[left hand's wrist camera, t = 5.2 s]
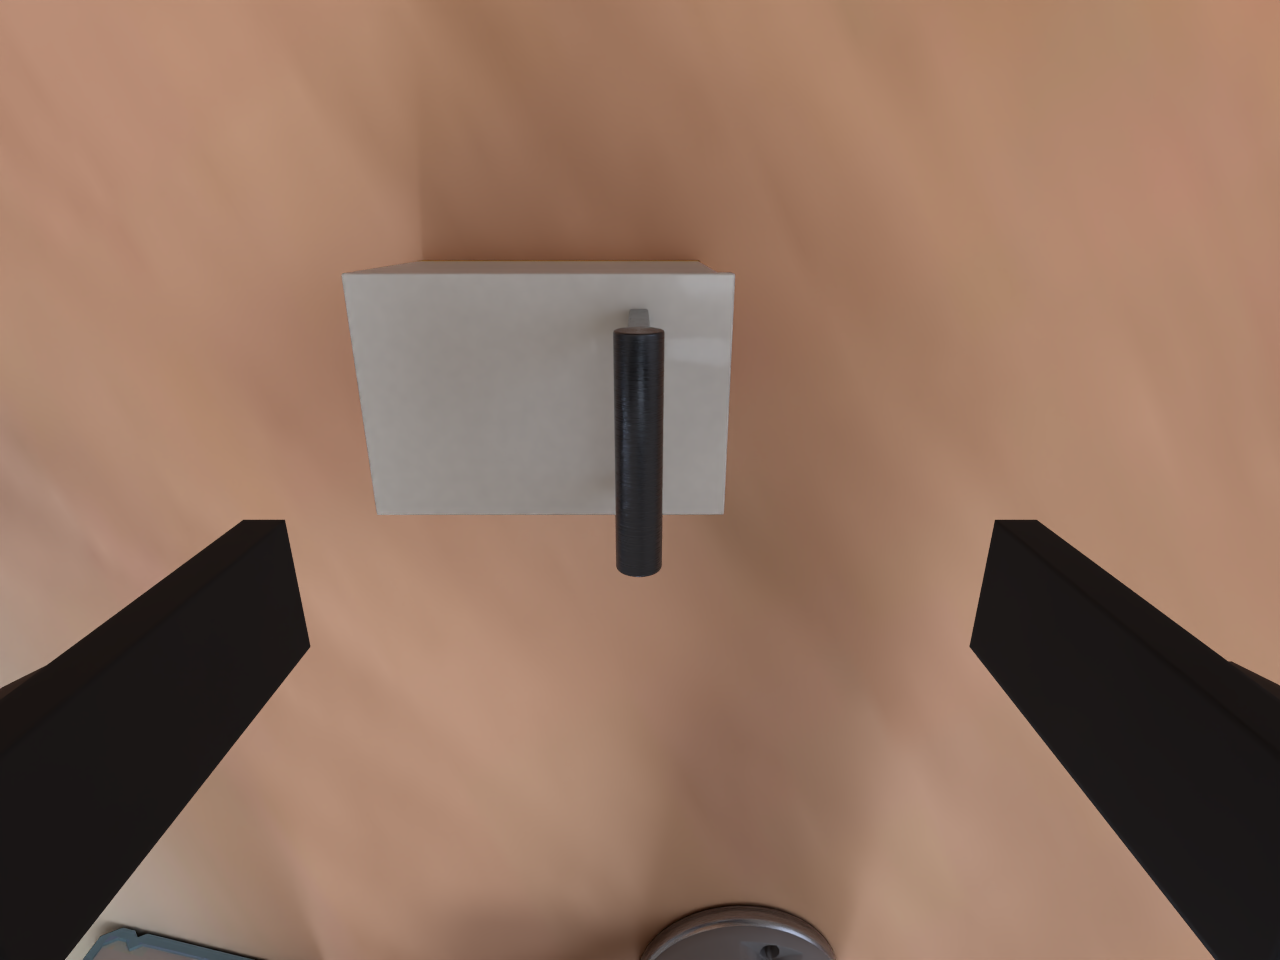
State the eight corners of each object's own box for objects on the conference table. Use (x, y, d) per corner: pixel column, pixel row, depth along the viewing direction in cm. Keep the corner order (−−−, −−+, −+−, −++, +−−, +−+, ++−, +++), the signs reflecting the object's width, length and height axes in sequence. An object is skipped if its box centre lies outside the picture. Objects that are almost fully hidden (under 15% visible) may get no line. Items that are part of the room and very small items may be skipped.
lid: (732, 271, 25) (772, 291, 18) (721, 507, 28) (751, 608, 21) (349, 271, 25) (225, 291, 18) (383, 507, 28) (291, 609, 21)
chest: (698, 260, 34) (718, 271, 25) (693, 442, 37) (709, 507, 28) (422, 260, 34) (350, 271, 25) (442, 442, 37) (384, 507, 28)
